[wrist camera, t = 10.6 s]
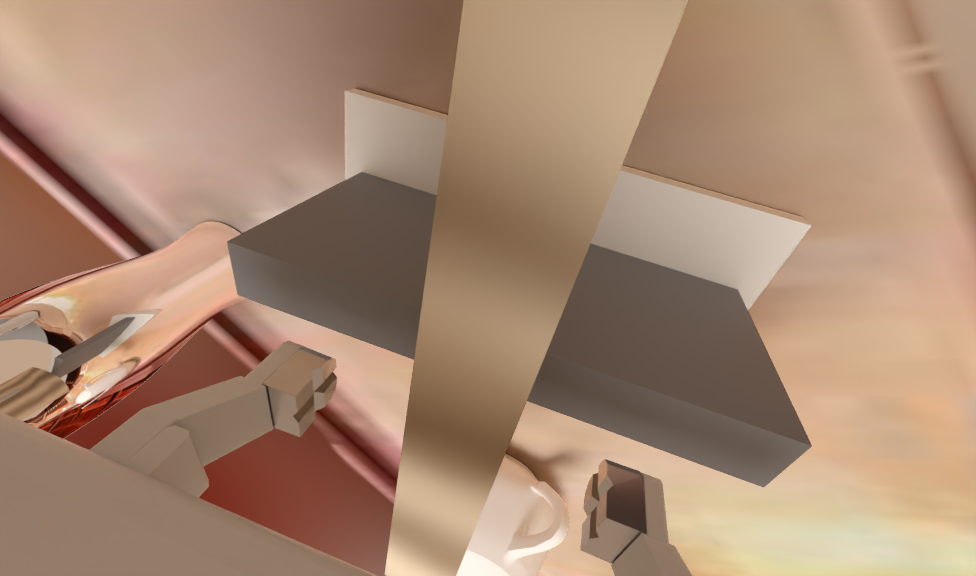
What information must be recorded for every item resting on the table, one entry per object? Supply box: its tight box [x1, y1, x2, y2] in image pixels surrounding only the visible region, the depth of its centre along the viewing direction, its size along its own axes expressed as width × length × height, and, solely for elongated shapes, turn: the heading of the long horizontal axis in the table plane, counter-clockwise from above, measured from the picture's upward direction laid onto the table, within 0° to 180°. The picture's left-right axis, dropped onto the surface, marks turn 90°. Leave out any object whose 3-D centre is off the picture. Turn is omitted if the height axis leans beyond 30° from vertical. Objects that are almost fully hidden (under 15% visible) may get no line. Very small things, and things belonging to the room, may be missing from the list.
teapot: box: [456, 454, 569, 576], centre depth 31 cm, size 20×12×10 cm, turn 135°
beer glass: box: [0, 221, 247, 439], centre depth 23 cm, size 7×7×15 cm
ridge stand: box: [227, 89, 812, 487], centre depth 18 cm, size 10×22×10 cm, turn 78°
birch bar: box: [385, 0, 689, 576], centre depth 12 cm, size 24×3×3 cm, turn 168°
